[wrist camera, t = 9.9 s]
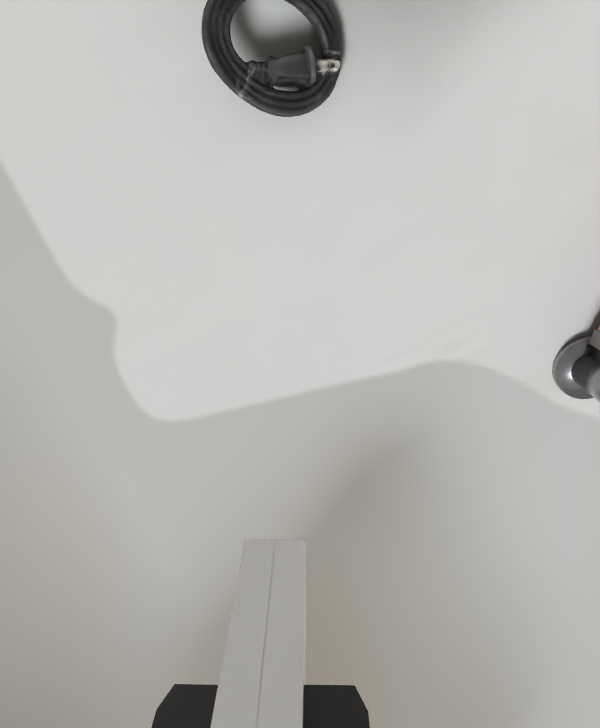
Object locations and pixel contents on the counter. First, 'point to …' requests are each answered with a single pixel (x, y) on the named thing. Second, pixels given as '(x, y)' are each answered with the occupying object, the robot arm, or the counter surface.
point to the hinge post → (578, 369)
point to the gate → (595, 338)
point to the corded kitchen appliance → (275, 61)
